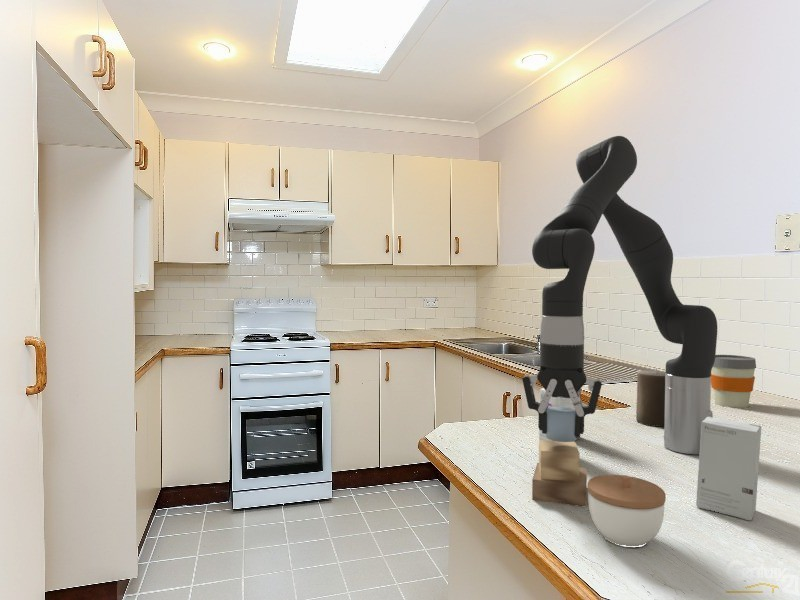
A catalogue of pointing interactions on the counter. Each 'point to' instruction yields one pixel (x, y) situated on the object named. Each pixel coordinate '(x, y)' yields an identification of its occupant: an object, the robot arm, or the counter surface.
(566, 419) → the blue rounded cylinder
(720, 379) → the reusable coffee cup
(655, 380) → the pillar candle
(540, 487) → the walnut slab
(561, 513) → the counter surface
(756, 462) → the skincare box
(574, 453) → the oak block
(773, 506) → the counter surface
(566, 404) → the syrup box
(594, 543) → the counter surface
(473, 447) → the counter surface
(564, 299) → the robot arm
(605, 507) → the lidded jar
